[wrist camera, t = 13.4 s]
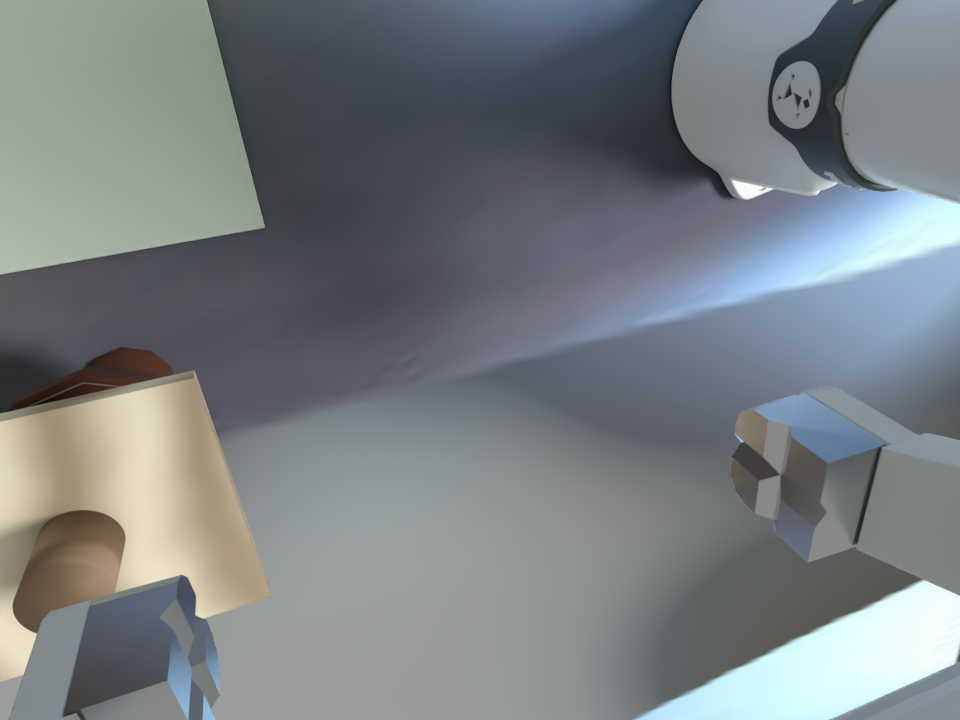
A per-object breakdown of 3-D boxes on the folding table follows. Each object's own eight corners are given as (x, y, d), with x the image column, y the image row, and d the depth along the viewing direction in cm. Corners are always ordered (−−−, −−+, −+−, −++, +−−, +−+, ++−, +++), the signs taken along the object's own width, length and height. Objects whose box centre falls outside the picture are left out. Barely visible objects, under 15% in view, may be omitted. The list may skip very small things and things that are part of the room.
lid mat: (178, -112, 34) (177, -113, 33) (264, 225, 42) (265, 227, 42) (-243, -90, 29) (-248, -91, 29) (-51, 281, 38) (-53, 283, 38)
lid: (194, 370, 30) (188, 424, 26) (269, 586, 36) (274, 656, 32) (-170, 451, 26) (-244, 528, 22) (-13, 673, 33) (-47, 764, 29)
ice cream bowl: (68, 467, 45) (3, 638, 32) (13, 319, 40) (-89, 454, 27) (229, 438, 48) (228, 585, 35) (198, 297, 43) (183, 410, 30)
